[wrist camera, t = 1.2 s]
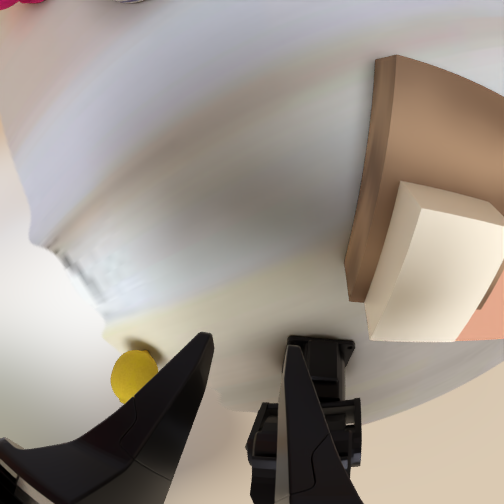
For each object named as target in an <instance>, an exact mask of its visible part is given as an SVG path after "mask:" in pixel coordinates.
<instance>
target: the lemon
mask: <svg viewBox="0 0 504 504" xmlns="http://www.w3.org/2000/svg"><path fill="white" fill-rule="evenodd" d="M157 373H158V367H157V364H156V362H155V361H154V359H153V358H152V357H151V356H150V354H149V352H148V351H147V350H143V351H140V350H131V351H128V352H126V353H124V354H123V355H121V356H120V357H119V359H118V360H117V361H116V363H115V365H114V368H113V371H112V374H111V386H112V389H113V391H114V393H115V395H116V396H117V397H118V398H119V400H120V402H121V403H123V404H125V403H126V402H127V401H128V400H129V399H130V398H131V397H134V395H135V394H136V393H137V392H138V391H139V390H140V389H141V388H142V387H143V386H144V385H145V384H146V383H147V382H148V381H150V380H151V379H152V378H153V377H154V376H155V375H156V374H157Z"/></svg>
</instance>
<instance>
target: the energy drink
mask: <svg viewBox="0 0 504 504" xmlns="http://www.w3.org/2000/svg"><path fill="white" fill-rule="evenodd" d="M114 1H118V2H122V3H136V2H140V1H143V0H114Z"/></svg>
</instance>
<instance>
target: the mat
mask: <svg viewBox="0 0 504 504" xmlns="http://www.w3.org/2000/svg"><path fill="white" fill-rule="evenodd" d="M489 339H504V270H503V272H502V274H501V276H500V278H499V279H498V281H497V283H496V285H495V287H494V288H493V290H492V292H491V294H490V295H489V297H488V299H487V300H486V302H485V304H484V305H483V307H482V309H481V310H477V309H476V310H475V312H474V313H473V315H472V316H471V318H470V320H469V321H468V323H467V324H466V326H465V327H464V329H463V330H462V331H461V333H460V334H459V336H458V337H457V339H456V340H455V341H466V340H489Z"/></svg>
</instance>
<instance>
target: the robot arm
mask: <svg viewBox="0 0 504 504" xmlns="http://www.w3.org/2000/svg"><path fill="white" fill-rule="evenodd" d="M354 349H355V343H354V342H352V341H339V340H327V339H316V338H305V337H296V336H291V337H289V338H288V340H287V346H286V351H285V356H284V362H283V367H282V373H283V375H282V381H281V388H280V394H279V403H268V402H263V403H262V405H261V408H260V410H259V411H258V414H257V417H256V419H255V422H254V425H253V427H252V430H251V433H250V435H249V438H248V440H247V443H246V446H245V448H246V450H247V453H248V461H249V463H250V465H251V466H252V482H251V490H250V496H251V498H252V500H253V503H254V504H364V503H363V502H362V500H361V499H360V497H359V496H358V493H357V491H356V490H355V488H354V486H353V484H352V482H351V480H350V469H351V467H358V466H360V461H361V444H362V443H361V442H362V433H361V432H362V431H361V403H360V398H354V399H353V400H345V367H346V365H347V363H348V361H349V359H350V357H351V355H352V353H353V351H354ZM213 353H214V343H213V337H212V334H211V333H206V332H200V333H198V334H197V335H196V336H195V337H194V338H193V339H192V340H191V341H190V342H189V343H188V344H187V345H186V346H185V347H184V348H183V349H182V350H181V351H180V352H179V353H178V354H177V355H176V356H175V357H174V358H173V359H171V360H170V361H169V362H168V363H167V364H166V365H165V366H164V367H163V368H162V369H161V370H160V371H159V372H158V373H157V374H156V375H155V376H154V377H153V378H152V379H151V380H150V381H148V382H147V383H146V384H145V385H144V386H143V387H142V388H141V389H140V390H139V391H138V392H137V393H136V394H135V395H134V397H131V398H130V399H129V400H128V401H127V402H126V403H125V404H124V405H123V406H122V407H120V408H119V409H118V410H117V411H116V412H115V413H113V414H112V415H111V416H109V417H108V418H107V419H105V420H104V421H103V422H101V423H100V424H98V425H97V426H96V427H94V428H93V429H91V430H90V431H88V432H87V433H85V434H84V435H82V436H81V437H79V438H77V439H75V440H73V441H70V442H67V443H63V444H57V445H52V446H46V447H41V448H34V449H24V448H22V447H21V446H19V445H17V444H16V443H14V442H12V441H11V440H9V439H8V438H5V437H4V438H1V439H0V504H164V501H165V498H166V495H167V493H168V490H169V488H170V485H171V482H172V479H173V477H174V474H175V471H176V468H177V466H178V463H179V460H180V458H181V455H182V452H183V449H184V447H185V444H186V441H187V439H188V436H189V433H190V430H191V428H192V425H193V422H194V419H195V417H196V414H197V411H198V408H199V406H200V403H201V400H202V398H203V395H204V392H205V389H206V385H207V380H208V376H209V371H210V367H211V362H212V358H213ZM348 423H354V425H346V424H348Z"/></svg>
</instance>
